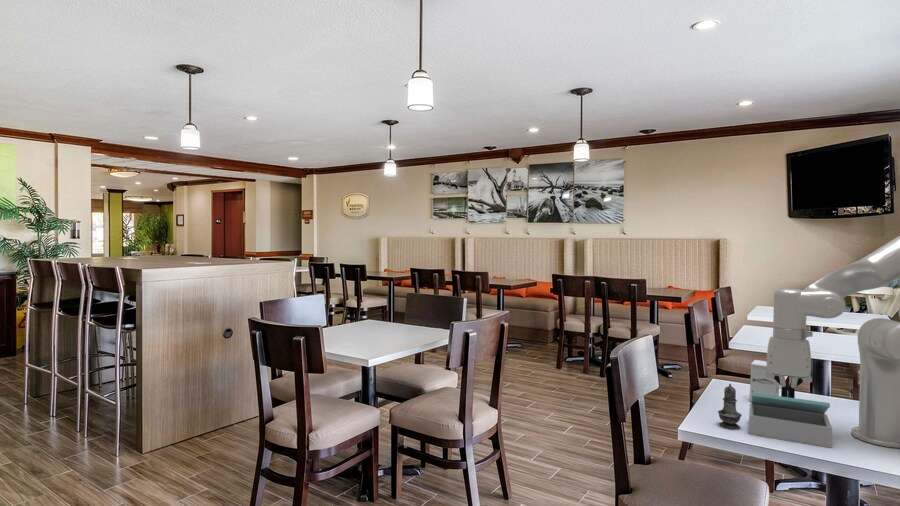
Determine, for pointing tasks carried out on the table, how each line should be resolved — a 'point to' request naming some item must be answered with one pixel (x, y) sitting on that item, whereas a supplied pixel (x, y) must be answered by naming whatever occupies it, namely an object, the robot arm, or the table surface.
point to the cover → (790, 403)
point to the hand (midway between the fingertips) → (787, 400)
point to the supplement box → (762, 380)
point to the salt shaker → (729, 409)
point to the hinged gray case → (790, 425)
